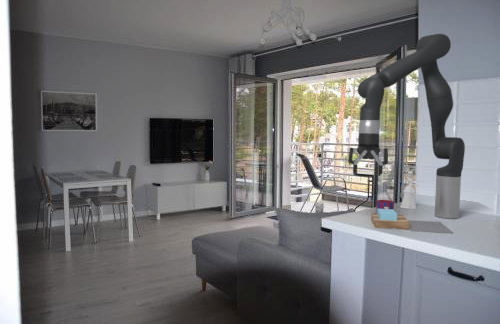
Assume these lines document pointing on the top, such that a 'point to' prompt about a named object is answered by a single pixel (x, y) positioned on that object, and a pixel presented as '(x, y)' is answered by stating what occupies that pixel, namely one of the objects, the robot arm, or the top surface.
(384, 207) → the mug
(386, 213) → the light blue block
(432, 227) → the mat
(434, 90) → the robot arm
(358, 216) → the top surface
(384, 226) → the deck
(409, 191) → the figurine
